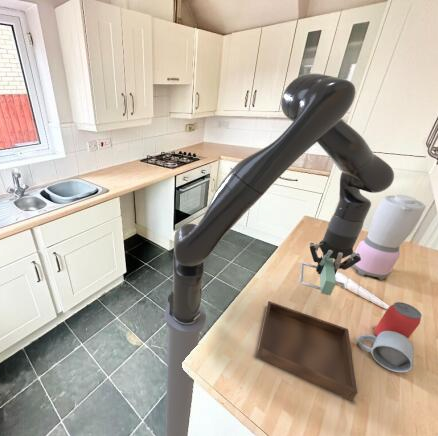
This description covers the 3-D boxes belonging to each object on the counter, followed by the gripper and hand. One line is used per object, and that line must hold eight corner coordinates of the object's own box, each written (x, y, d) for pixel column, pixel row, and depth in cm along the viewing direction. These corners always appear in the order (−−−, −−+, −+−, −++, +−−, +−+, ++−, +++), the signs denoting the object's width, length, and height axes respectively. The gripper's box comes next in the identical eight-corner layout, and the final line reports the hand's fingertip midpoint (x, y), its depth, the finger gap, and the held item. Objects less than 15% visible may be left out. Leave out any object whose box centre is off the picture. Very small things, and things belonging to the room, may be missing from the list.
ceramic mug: (407, 357, 67) (420, 339, 63) (404, 378, 62) (418, 360, 59) (359, 333, 74) (369, 315, 70) (353, 350, 69) (363, 332, 66)
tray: (256, 356, 68) (258, 348, 66) (266, 308, 83) (268, 300, 81) (351, 400, 58) (357, 392, 56) (343, 336, 73) (348, 329, 71)
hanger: (299, 286, 76) (303, 273, 73) (300, 261, 86) (304, 250, 84) (346, 300, 70) (352, 288, 68) (341, 272, 81) (347, 260, 78)
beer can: (385, 326, 76) (404, 298, 70) (409, 345, 70) (431, 317, 64) (367, 329, 75) (385, 302, 69) (390, 349, 69) (410, 321, 63)
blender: (392, 284, 91) (439, 208, 76) (352, 274, 96) (388, 201, 81) (380, 260, 104) (418, 191, 88) (345, 253, 109) (376, 186, 93)
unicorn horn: (394, 321, 77) (401, 310, 75) (318, 276, 96) (322, 267, 94) (401, 315, 79) (408, 304, 77) (325, 272, 98) (329, 263, 95)
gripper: (315, 229, 72) (299, 274, 80) (376, 242, 66) (351, 289, 74) (315, 218, 78) (300, 261, 86) (371, 229, 71) (349, 274, 79)
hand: (324, 274), depth 80 cm, fingers closed on hanger, 2 cm apart
